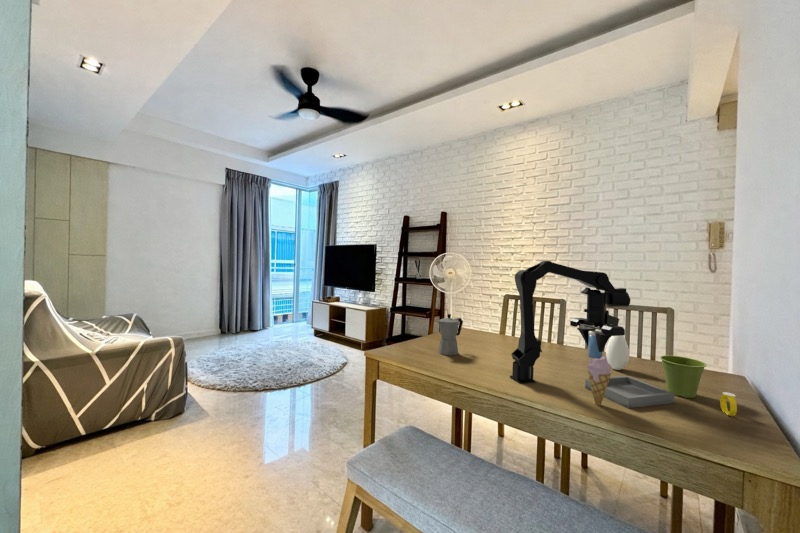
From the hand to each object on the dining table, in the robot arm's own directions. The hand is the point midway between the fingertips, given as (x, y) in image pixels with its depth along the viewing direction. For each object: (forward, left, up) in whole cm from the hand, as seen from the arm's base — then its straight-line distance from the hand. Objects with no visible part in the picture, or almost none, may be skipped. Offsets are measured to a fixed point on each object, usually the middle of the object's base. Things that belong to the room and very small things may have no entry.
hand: (595, 350), depth 119 cm
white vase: (+21, +10, -12) cm, 26 cm away
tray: (+1, -12, -12) cm, 17 cm away
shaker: (0, 0, -3) cm, 2 cm away
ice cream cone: (-15, -16, -12) cm, 25 cm away
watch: (+18, -29, -12) cm, 36 cm away
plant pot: (+20, -15, -12) cm, 28 cm away
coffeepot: (-37, +45, -12) cm, 59 cm away
